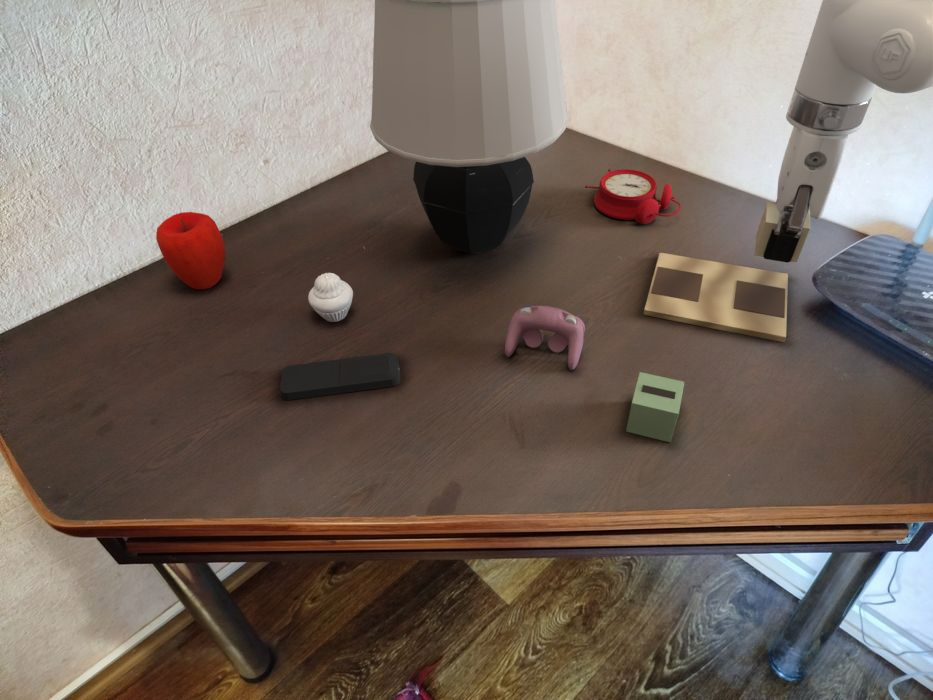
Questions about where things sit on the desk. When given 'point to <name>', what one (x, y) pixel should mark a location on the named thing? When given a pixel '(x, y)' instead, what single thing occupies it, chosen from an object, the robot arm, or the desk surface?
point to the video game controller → (549, 319)
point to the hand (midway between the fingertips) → (777, 245)
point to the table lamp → (468, 106)
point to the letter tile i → (655, 407)
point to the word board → (719, 296)
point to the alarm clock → (631, 196)
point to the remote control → (340, 376)
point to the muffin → (331, 297)
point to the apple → (192, 248)
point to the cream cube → (769, 223)
